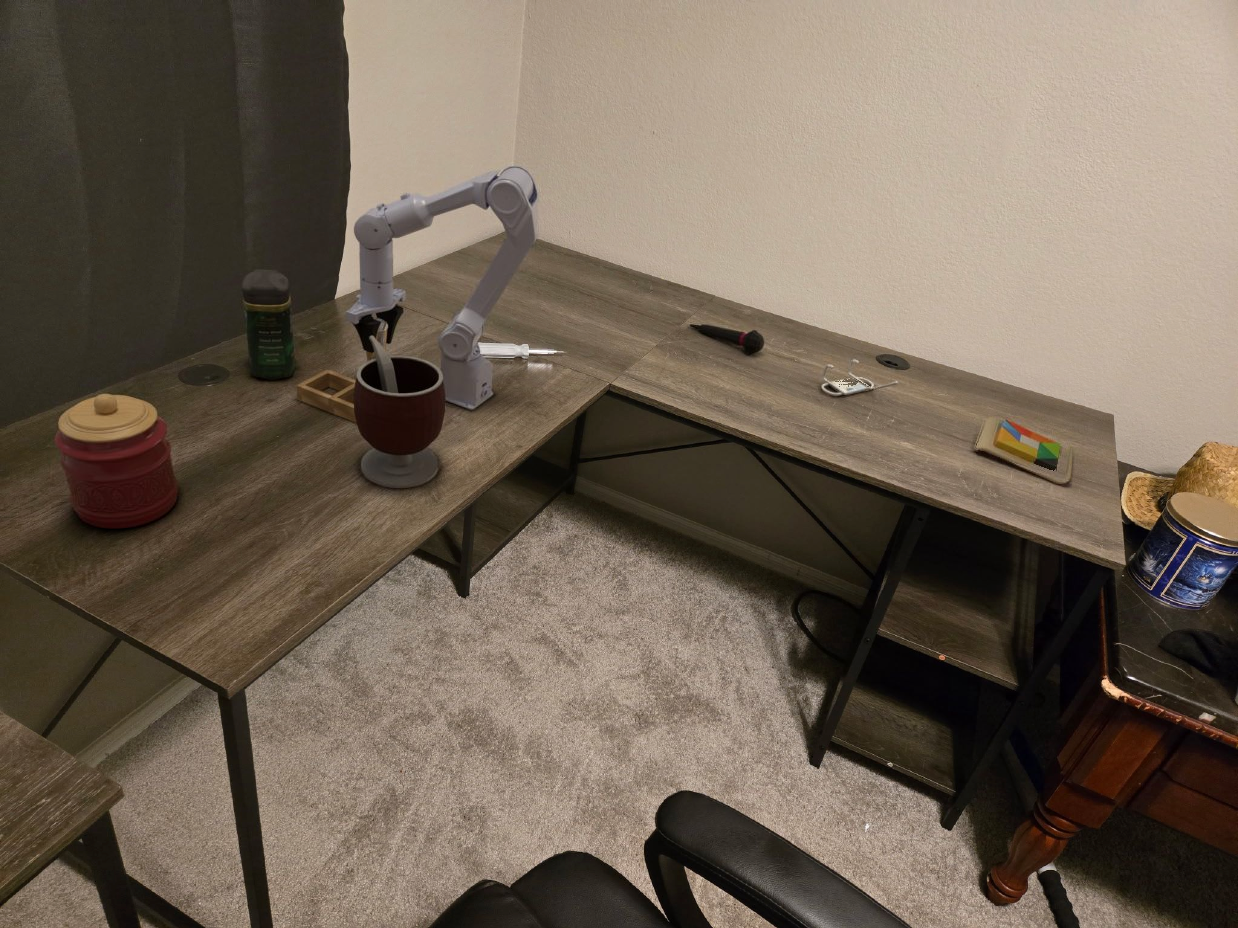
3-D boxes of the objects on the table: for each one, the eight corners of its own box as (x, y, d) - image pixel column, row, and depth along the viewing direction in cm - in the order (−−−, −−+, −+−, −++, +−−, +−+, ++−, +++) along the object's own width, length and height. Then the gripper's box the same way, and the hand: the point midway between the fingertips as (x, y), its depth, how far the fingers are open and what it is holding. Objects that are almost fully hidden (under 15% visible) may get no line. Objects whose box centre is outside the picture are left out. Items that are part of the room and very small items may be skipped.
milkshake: (377, 373, 149) (375, 324, 143) (358, 362, 151) (356, 314, 145) (396, 366, 152) (396, 318, 146) (378, 356, 154) (377, 308, 149)
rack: (394, 408, 145) (394, 394, 144) (366, 427, 139) (365, 412, 137) (327, 383, 149) (327, 369, 148) (297, 399, 143) (296, 385, 141)
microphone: (685, 340, 198) (757, 361, 189) (683, 321, 194) (757, 341, 185) (696, 328, 201) (768, 348, 192) (695, 309, 197) (768, 328, 188)
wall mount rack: (855, 374, 190) (862, 353, 187) (898, 402, 181) (907, 379, 178) (809, 384, 182) (817, 361, 178) (853, 413, 173) (861, 390, 170)
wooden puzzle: (1066, 488, 160) (1074, 474, 158) (971, 453, 166) (978, 439, 164) (1070, 453, 173) (1077, 439, 171) (982, 421, 179) (988, 408, 178)
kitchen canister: (194, 481, 120) (177, 378, 110) (155, 535, 109) (132, 426, 99) (103, 472, 118) (77, 366, 109) (54, 525, 107) (21, 414, 98)
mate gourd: (459, 474, 132) (465, 367, 121) (384, 501, 123) (383, 388, 112) (408, 431, 140) (409, 327, 129) (334, 453, 131) (329, 343, 120)
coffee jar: (295, 381, 148) (288, 287, 138) (249, 381, 145) (238, 286, 135) (296, 357, 155) (289, 266, 145) (251, 357, 153) (241, 264, 143)
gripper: (383, 261, 149) (384, 327, 156) (330, 282, 137) (334, 353, 145) (415, 272, 147) (414, 338, 154) (364, 294, 135) (365, 365, 143)
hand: (377, 346), depth 149 cm, fingers closed on milkshake, 4 cm apart
